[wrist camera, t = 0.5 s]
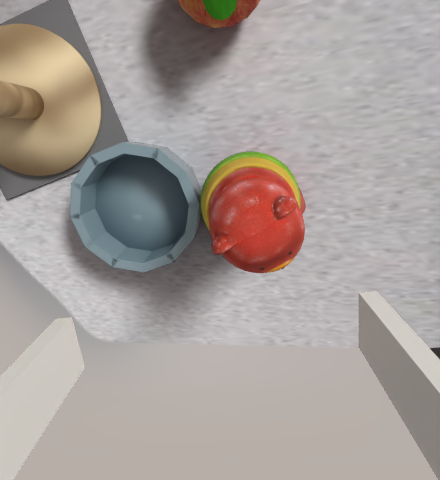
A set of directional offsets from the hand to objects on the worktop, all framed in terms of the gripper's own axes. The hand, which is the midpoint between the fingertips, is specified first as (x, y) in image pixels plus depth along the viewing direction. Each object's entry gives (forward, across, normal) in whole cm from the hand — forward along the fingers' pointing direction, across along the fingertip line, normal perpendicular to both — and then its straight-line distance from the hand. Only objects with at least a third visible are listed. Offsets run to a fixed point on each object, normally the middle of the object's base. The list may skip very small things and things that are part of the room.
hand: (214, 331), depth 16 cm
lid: (+25, -19, +14) cm, 35 cm away
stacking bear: (+26, +3, +2) cm, 26 cm away
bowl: (+26, -9, +2) cm, 27 cm away
